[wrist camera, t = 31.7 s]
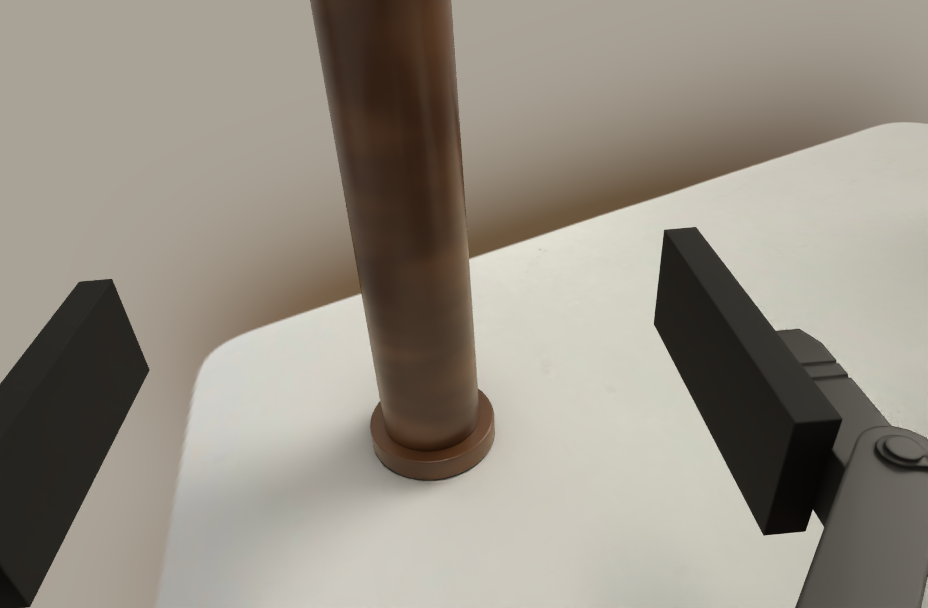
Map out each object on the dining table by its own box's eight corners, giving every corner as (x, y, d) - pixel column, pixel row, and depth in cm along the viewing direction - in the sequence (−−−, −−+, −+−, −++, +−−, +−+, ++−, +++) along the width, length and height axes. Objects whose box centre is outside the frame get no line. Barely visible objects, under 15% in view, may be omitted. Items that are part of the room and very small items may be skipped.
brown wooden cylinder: (367, 484, 27) (265, -8, 17) (378, 396, 31) (302, -37, 21) (498, 476, 27) (472, -23, 17) (491, 389, 31) (467, -49, 21)
